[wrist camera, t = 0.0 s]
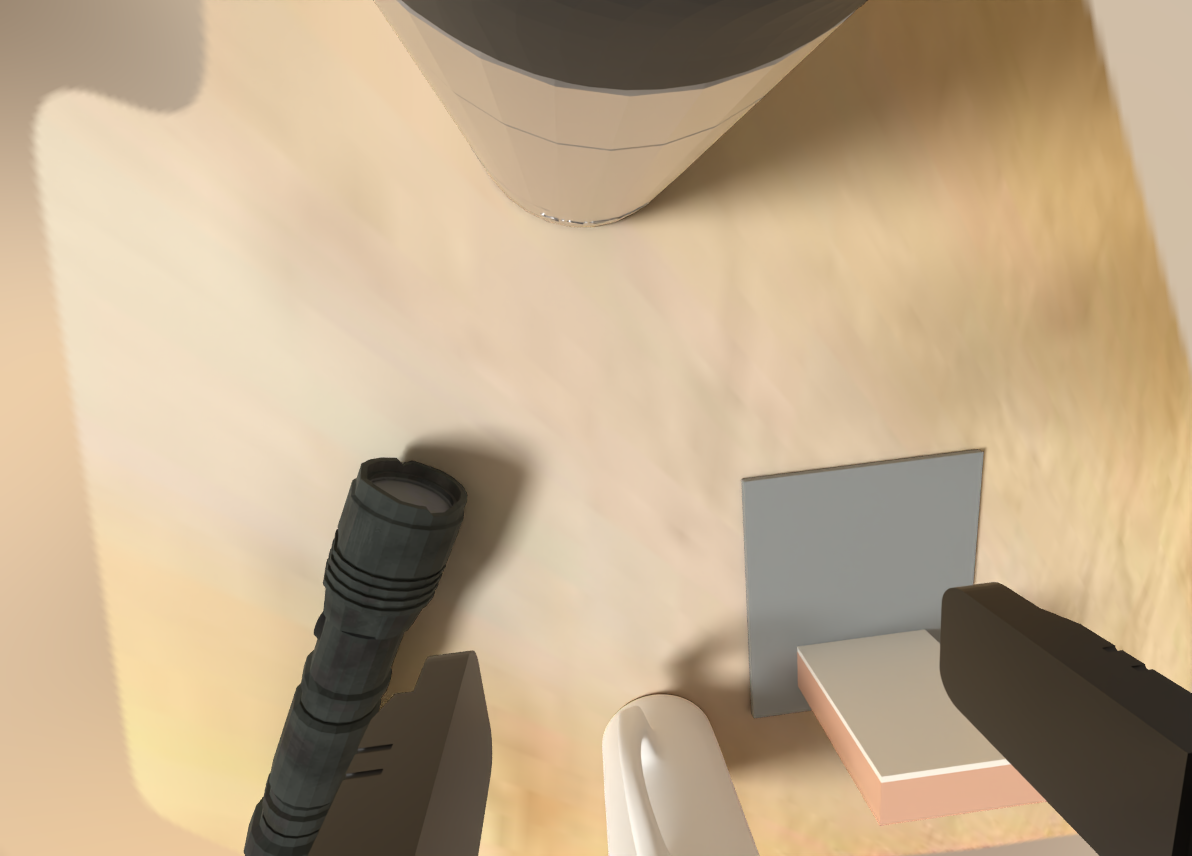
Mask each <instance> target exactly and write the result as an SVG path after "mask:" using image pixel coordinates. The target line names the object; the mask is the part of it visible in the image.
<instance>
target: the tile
mask: <svg viewBox="0 0 1192 856" xmlns="http://www.w3.org/2000/svg"><path fill="white" fill-rule="evenodd" d="M939 663H940V643H939V642H938V641H937V640H936V639H934V638H933V637H932V636H931V635H930V634H929V633H928V632H927V631H926V630H925V629H924V630H916V631H909V632H902V633H894V634H887V635H879V636H872V637H865V638H857V639H850V640H842V641H835V642H828V643H820V644H813V645H805V646H798V647H797V667H798V687H799V689H800V690H801V692H802V694H803V696H804V697H805V699H806V701H807V702H808V704H809V706H810V707H811V709H812V711H813V713H814V714H815V716H816V718H817V719H818V721H819V723H820V725H821V726H822V728H823V730H824V731H825V733H826V735H827V736H828V738H829V740H830V742H831V743H832V745H833V747H834V748H835V750H836V752H837V754H838V755H839V757H840V759H841V760H842V762H843V764H844V765H845V767H846V769H847V771H848V772H849V774H850V776H851V777H852V779H853V781H854V783H855V784H856V786H857V788H858V789H859V791H860V793H861V794H862V796H863V798H864V800H865V801H866V803H867V805H868V806H869V808H870V810H871V811H872V813H873V815H874V817H875V818H876V820H877V822H878V823H879V825H880V826H882V825H889V824H896V823H903V822H910V821H917V820H923V819H930V818H937V817H944V816H951V815H958V814H965V813H971V812H978V811H985V810H992V809H999V808H1006V807H1013V806H1019V805H1026V804H1033V803H1040V802H1047V801H1046V800H1045V799H1044V798H1043V797H1042V796H1041V795H1040V794H1039V793H1038V792H1037V791H1036V790H1035V789H1034V788H1033V786H1032V785H1031V784H1030V783H1029V782H1028V781H1027V780H1026V779H1025V778H1024V777H1023V776H1022V775H1021V774H1020V773H1019V772H1018V771H1017V770H1016V769H1015V768H1014V767H1013V766H1012V765H1011V764H1010V763H1009V762H1008V761H1007V760H1006V759H1005V758H1004V757H1003V756H1002V754H1001V753H1000V752H999V751H998V750H997V749H996V748H995V747H994V746H993V745H992V744H991V743H990V742H989V741H988V740H987V739H986V738H985V737H984V736H983V735H982V734H981V733H980V732H979V731H978V730H977V729H976V728H975V727H974V726H973V725H972V724H971V723H970V721H969V720H968V719H967V718H966V717H965V716H964V715H963V714H962V713H961V712H960V711H959V710H958V709H957V708H956V707H955V705H954V704H953V703H952V701H951V700H950V698H949V696H948V694H947V693H946V690H945V688H944V686H943V683H942V680H941V675H940V667H939Z"/></svg>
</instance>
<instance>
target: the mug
mask: <svg viewBox="0 0 1192 856" xmlns="http://www.w3.org/2000/svg"><path fill="white" fill-rule="evenodd" d="M602 751H603V768H604V789H605V805H606V820H607V836H608V852H609V856H760V855H759V853H758V850H757V847H756V845H755V842H754V839H753V837H752V834H751V831H750V828H749V826H748V823H747V820H746V818H745V815H744V812H743V810H742V807H741V804H740V801H739V799H738V796H737V793H736V790H735V788H734V785H733V782H732V779H731V777H730V774H729V771H728V768H727V766H726V763H725V760H724V757H723V755H722V752H721V749H720V747H719V744H718V742H717V739H716V737H715V734H714V732H713V729H712V727H711V724H710V722H709V720H708V718H707V717H706V715H705V714H704V712H703V711H702V710H701V709H700V708H699V707H698V706H696V705H695V704H694V703H692V702H690V701H689V700H686V699H684V698H681V697H678V696H674V695H667V694H657V695H649V696H645V697H642V698H639V699H636V700H634V701H632V702H630V703H628V704H627V705H625V706H624V707H622V708H621V709H620V710H619V711H618V712H617V713H616V714H615V715H614V716H613V717H612V718H611V720H610V721H609V723H608V725H607V727H606V729H605V732H604V736H603V742H602Z"/></svg>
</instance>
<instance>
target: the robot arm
mask: <svg viewBox="0 0 1192 856" xmlns="http://www.w3.org/2000/svg"><path fill="white" fill-rule="evenodd" d="M373 1H374V2H375V4H376V5H377V6H378V8H379V9H380V11H381V12H382V14H383V15H384V17H385V18H386V20H387V21H388V23H389V24H390V26H391V27H392V29H393V30H394V32H395V33H396V35H397V36H398V38H399V39H400V41H401V42H402V44H403V45H404V47H405V48H406V50H407V51H408V53H409V54H410V56H411V57H412V59H413V60H414V62H415V63H416V65H417V66H418V68H419V69H420V71H421V72H422V74H423V75H424V77H425V78H426V80H427V81H428V83H429V84H430V86H431V87H432V89H433V90H434V92H435V93H436V95H437V96H438V98H439V99H440V101H441V102H442V104H443V105H444V107H445V109H446V110H447V112H448V113H449V115H450V116H451V118H452V119H453V121H454V122H455V124H456V125H457V127H458V128H459V130H460V131H461V133H462V134H463V136H464V137H465V139H466V140H467V142H468V143H469V145H470V146H471V148H472V150H473V151H474V153H475V154H476V156H477V157H478V159H479V160H480V162H481V163H482V165H483V166H484V168H485V169H486V171H487V172H488V174H489V175H490V177H491V178H492V179H493V181H494V182H495V183H496V184H497V185H498V186H499V187H500V189H501V190H502V191H503V192H504V193H505V194H506V195H507V197H508V198H510V199H511V200H512V201H514V202H515V203H516V204H518V205H519V206H520V207H522V208H523V209H524V210H526V211H527V212H529V213H531V214H533V215H535V216H537V217H539V218H541V219H544V220H546V221H548V222H552V223H556V224H560V225H565V226H569V227H595V226H600V225H604V224H608V223H613V222H616V221H618V220H621V219H623V218H625V217H627V216H629V215H631V214H633V213H635V212H637V211H638V210H639V209H641V208H643V207H644V206H646V205H647V204H649V202H650V201H651V200H652V199H654V198H655V197H656V196H657V195H658V194H659V193H660V192H661V191H662V190H664V189H665V188H666V187H667V186H668V185H669V184H671V183H672V182H673V181H674V180H675V179H676V178H677V177H678V176H679V175H680V174H681V173H683V172H684V171H685V170H686V169H687V168H688V167H689V166H690V165H691V164H692V163H693V162H694V161H695V160H696V159H698V158H699V157H700V156H701V155H702V154H703V153H704V152H705V151H706V150H707V149H708V148H709V147H710V146H711V145H713V144H714V143H715V142H716V141H717V140H718V139H719V138H720V137H721V136H722V135H723V134H724V133H725V132H726V131H728V130H729V129H730V128H731V127H732V126H733V125H734V124H735V123H736V122H737V121H738V120H739V119H740V118H741V117H743V116H744V115H745V114H746V113H747V112H748V111H749V110H750V109H751V108H752V107H753V106H754V105H755V104H757V103H758V102H759V101H760V100H761V99H762V98H763V97H764V96H765V95H766V94H767V93H768V92H769V91H770V90H771V89H772V88H773V87H775V86H776V85H777V84H778V83H779V82H780V81H781V80H782V79H783V78H784V77H785V76H786V75H787V74H788V73H789V72H790V71H791V70H792V69H793V68H795V67H796V66H797V65H798V64H799V63H800V62H801V61H802V60H803V59H804V58H805V57H806V56H807V55H809V54H810V53H811V52H812V51H813V50H814V49H815V48H816V47H817V46H818V45H819V44H820V43H821V42H823V41H824V40H825V39H826V38H827V37H828V36H829V35H830V34H831V33H832V32H833V31H834V30H835V29H837V28H838V27H839V26H840V25H841V24H842V23H843V22H844V21H845V20H846V19H847V18H848V17H849V16H850V15H851V14H853V13H854V12H855V11H856V10H857V9H858V8H859V7H861V6H862V5H863V4H864V3H865V2H866V1H868V0H373ZM939 667H940V675H941V680H942V683H943V686H944V688H945V690H946V693H947V694H948V696H949V698H950V700H951V701H952V703H953V704H954V705H955V707H956V708H957V709H958V710H959V711H960V712H961V713H962V714H963V715H964V716H965V717H966V718H967V719H968V720H969V721H970V723H971V724H972V725H973V726H974V727H975V728H976V729H977V730H978V731H979V732H980V733H981V734H982V735H983V736H984V737H985V738H986V739H987V740H988V741H989V742H990V743H991V744H992V745H993V746H994V747H995V748H996V749H997V750H998V751H999V752H1000V753H1001V754H1002V756H1003V757H1004V758H1005V759H1006V760H1007V761H1008V762H1009V763H1010V764H1011V765H1012V766H1013V767H1014V768H1015V769H1016V770H1017V771H1018V772H1019V773H1020V774H1021V775H1022V776H1023V777H1024V778H1025V779H1026V780H1027V781H1028V782H1029V783H1030V784H1031V785H1032V786H1033V788H1034V789H1035V790H1036V791H1037V792H1038V793H1039V794H1040V795H1041V796H1042V797H1043V798H1044V799H1045V800H1046V801H1047V802H1048V803H1049V804H1050V805H1051V806H1052V807H1053V808H1054V809H1055V810H1056V811H1057V812H1058V813H1059V814H1060V815H1061V816H1062V817H1063V818H1064V819H1065V821H1066V822H1067V823H1068V824H1069V825H1070V826H1071V827H1072V828H1073V829H1074V830H1075V831H1076V832H1077V833H1078V834H1079V835H1080V836H1081V837H1082V838H1083V839H1084V840H1085V841H1086V842H1087V843H1088V844H1089V845H1090V846H1091V847H1092V848H1093V849H1094V850H1095V851H1096V852H1097V853H1098V855H1099V856H1192V693H1190V692H1189V691H1187V690H1185V689H1184V688H1182V687H1181V686H1179V685H1177V684H1176V683H1174V682H1173V681H1171V680H1169V679H1168V678H1166V677H1165V676H1163V675H1161V674H1160V673H1158V672H1156V671H1155V670H1153V669H1151V670H1148V669H1147V668H1146V667H1145V664H1144V663H1142V662H1140V661H1139V660H1137V659H1136V658H1134V657H1132V656H1131V655H1129V654H1128V653H1126V652H1124V651H1123V650H1120V651H1117V649H1116V648H1115V645H1113V644H1111V643H1110V642H1108V641H1107V640H1105V639H1103V638H1102V637H1100V636H1099V635H1097V634H1095V633H1094V632H1092V631H1091V630H1089V629H1087V628H1086V627H1084V626H1082V625H1081V624H1079V623H1076V622H1073V621H1071V620H1068V619H1066V618H1063V617H1061V616H1058V615H1056V614H1053V613H1051V612H1048V611H1046V610H1043V609H1041V608H1039V607H1037V606H1036V605H1034V604H1032V603H1031V602H1029V601H1028V600H1026V599H1025V598H1023V597H1021V596H1020V595H1018V594H1017V593H1015V592H1014V591H1012V590H1011V589H1009V588H1007V587H1006V586H1004V585H1002V584H1000V583H996V582H991V583H984V584H976V585H969V586H961V587H954V588H949V589H947V590H946V591H945V592H944V594H943V597H942V606H941V634H940V663H939ZM491 767H492V737H491V728H490V723H489V717H488V712H487V706H486V701H485V695H484V690H483V685H482V679H481V674H480V668H479V663H478V659H477V656H476V653H475V652H474V651H465V652H458V653H450V654H443V655H435V656H429V657H428V658H427V659H426V661H425V663H424V666H423V668H422V671H421V673H420V676H419V678H418V681H417V684H416V686H415V689H414V691H412V692H405V693H397V694H395V695H394V696H393V697H392V698H391V699H390V700H389V701H388V702H387V703H386V704H385V705H384V706H383V707H382V708H381V709H380V711H379V712H378V713H377V714H376V715H375V716H374V717H373V718H372V719H371V721H370V723H369V725H368V727H367V729H366V731H365V734H364V736H363V738H362V740H361V742H360V744H359V746H358V753H357V754H355V755H354V757H353V759H352V762H351V764H350V766H349V768H348V770H347V772H346V779H345V780H343V781H342V783H341V785H340V787H339V789H338V792H337V794H336V796H335V798H334V800H333V802H332V805H331V807H330V809H329V811H328V813H327V815H326V817H325V820H324V822H323V824H322V826H321V828H320V830H319V833H318V835H317V837H316V839H315V841H314V843H313V845H312V848H311V850H310V852H309V854H308V856H478V852H479V846H480V839H481V833H482V827H483V820H484V814H485V807H486V801H487V795H488V788H489V782H490V775H491Z"/></svg>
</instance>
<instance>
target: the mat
mask: <svg viewBox="0 0 1192 856" xmlns="http://www.w3.org/2000/svg"><path fill="white" fill-rule="evenodd" d="M983 454H984V452H983V451H980V450H978V449H977V450H969V451H961V452H953V453H945V454H937V455H929V456H921V457H913V458H906V459H898V460H890V461H882V462H874V463H866V464H858V465H850V466H842V467H834V468H826V469H818V470H810V471H802V472H794V473H786V474H778V475H770V476H762V477H754V478H746V479H742V503H743V526H744V550H745V574H746V597H747V621H748V644H749V668H750V691H751V713H752V715H753V718H760V717H768V716H775V715H782V714H789V713H796V712H804V711H811V710H812V709H811V707H810V706H809V704H808V702H807V701H806V699H805V697H804V696H803V694H802V692H801V690H800V689H799V687H798V667H797V647H798V646H805V645H813V644H820V643H828V642H835V641H842V640H850V639H857V638H865V637H872V636H879V635H887V634H894V633H902V632H909V631H916V630H924V629H925V630H926V631H927V632H928V633H929V634H930V635H931V636H932V637H933V638H934V639H936V640H937V641H938V642H939V643H940V634H941V606H942V597H943V594H944V592H945V591H946V590H947V589H949V588H954V587H961V586H969V585H973V580H974V567H975V555H976V542H977V529H978V517H979V504H980V491H981V479H982V466H983Z"/></svg>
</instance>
